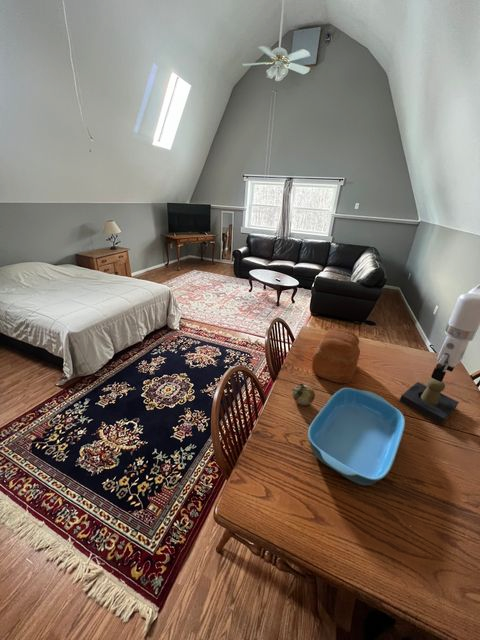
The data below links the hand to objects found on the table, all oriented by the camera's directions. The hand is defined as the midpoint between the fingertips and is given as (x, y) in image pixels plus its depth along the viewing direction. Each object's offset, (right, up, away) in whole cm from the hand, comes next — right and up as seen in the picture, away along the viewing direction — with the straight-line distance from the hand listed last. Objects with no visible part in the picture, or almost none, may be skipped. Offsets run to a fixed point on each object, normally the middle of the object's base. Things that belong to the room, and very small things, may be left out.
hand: (441, 374), depth 94 cm
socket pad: (-1, -13, +6) cm, 14 cm away
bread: (-29, -3, +25) cm, 38 cm away
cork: (-1, -13, +6) cm, 14 cm away
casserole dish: (-35, -19, -10) cm, 41 cm away
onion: (-48, -11, +5) cm, 50 cm away
